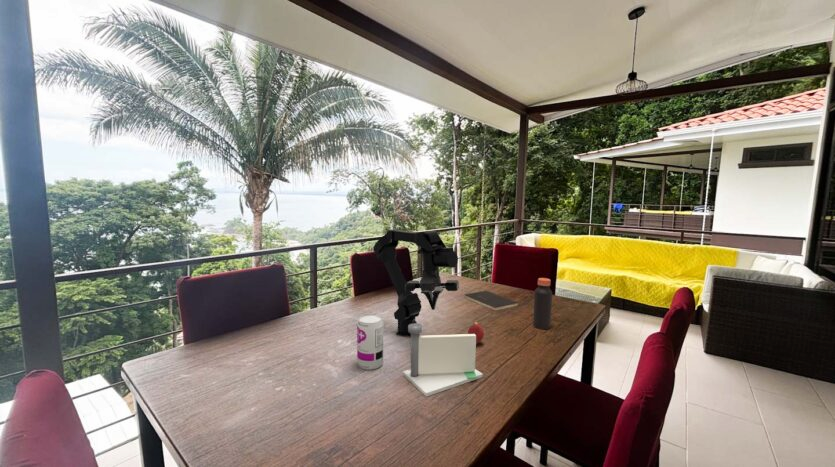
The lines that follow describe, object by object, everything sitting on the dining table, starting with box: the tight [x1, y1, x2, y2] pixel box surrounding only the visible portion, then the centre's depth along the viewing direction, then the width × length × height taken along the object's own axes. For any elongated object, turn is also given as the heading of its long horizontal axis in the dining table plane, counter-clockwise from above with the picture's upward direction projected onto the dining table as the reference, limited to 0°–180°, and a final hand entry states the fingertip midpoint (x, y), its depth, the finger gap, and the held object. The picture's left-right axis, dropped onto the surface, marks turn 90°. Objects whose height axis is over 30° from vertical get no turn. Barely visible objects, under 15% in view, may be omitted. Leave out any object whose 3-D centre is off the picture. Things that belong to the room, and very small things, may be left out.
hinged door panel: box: [408, 322, 477, 377], centre depth 101 cm, size 20×4×15 cm, turn 96°
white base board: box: [402, 368, 484, 397], centre depth 103 cm, size 20×14×1 cm
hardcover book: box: [463, 290, 520, 311], centre depth 174 cm, size 16×23×2 cm
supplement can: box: [356, 314, 384, 371], centre depth 108 cm, size 8×8×15 cm
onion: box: [467, 321, 485, 345], centre depth 125 cm, size 6×6×8 cm
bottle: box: [532, 277, 553, 330], centre depth 141 cm, size 7×7×20 cm
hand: (433, 309), depth 123 cm, fingers closed
